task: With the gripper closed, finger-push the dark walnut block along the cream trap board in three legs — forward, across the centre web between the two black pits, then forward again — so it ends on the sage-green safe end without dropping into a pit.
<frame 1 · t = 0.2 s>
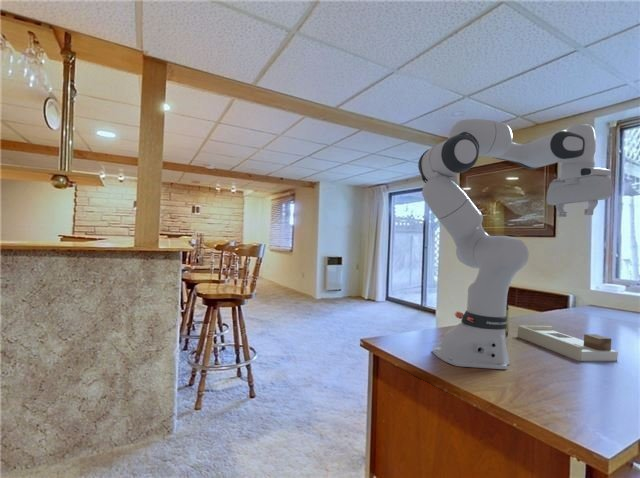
hand: (574, 216, 108), 47 cm above the table, fingers open, 8 cm apart
trap board: (562, 347, 119), on the table
sauce bottle: (499, 334, 133), on the table
walnut block: (596, 348, 110), point 3 cm above the table, touching trap board
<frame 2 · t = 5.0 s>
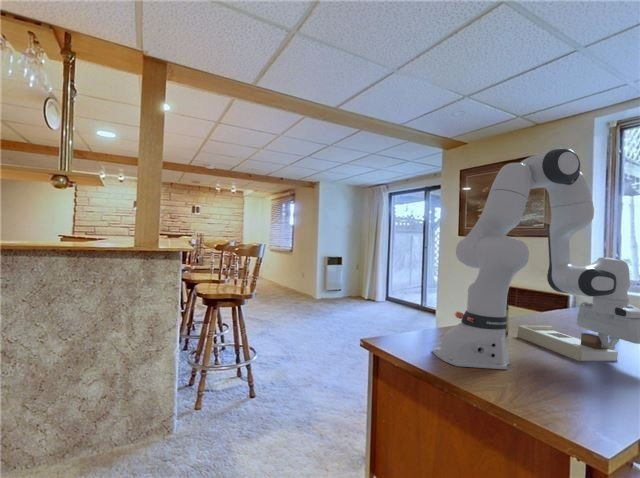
hand: (607, 348, 107), 4 cm above the table, fingers closed
walnut block: (593, 346, 112), point 3 cm above the table, touching gripper
everything else where it was.
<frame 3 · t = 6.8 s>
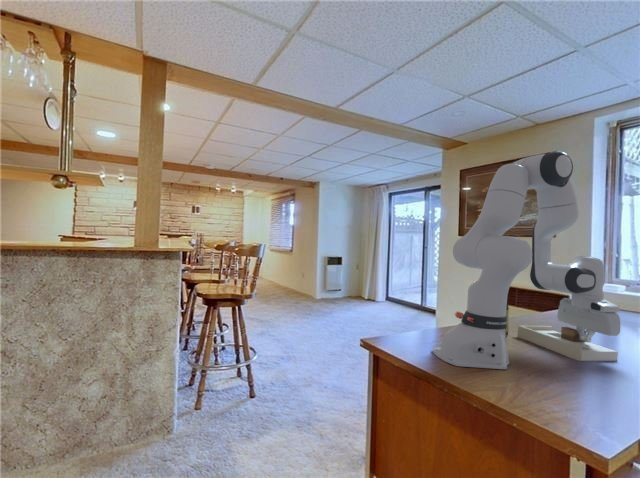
hand: (585, 341, 115), 4 cm above the table, fingers closed
walnut block: (573, 339, 119), point 3 cm above the table, touching gripper, trap board
everything else where it was.
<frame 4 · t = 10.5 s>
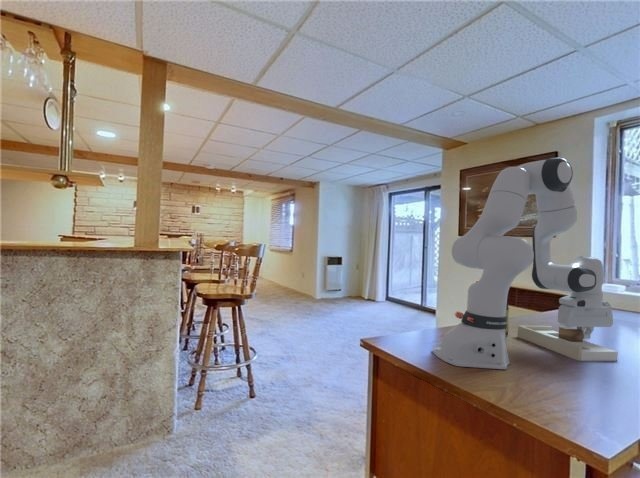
hand: (584, 338, 119), 4 cm above the table, fingers closed
walnut block: (570, 339, 119), point 3 cm above the table, touching gripper
everything else where it was.
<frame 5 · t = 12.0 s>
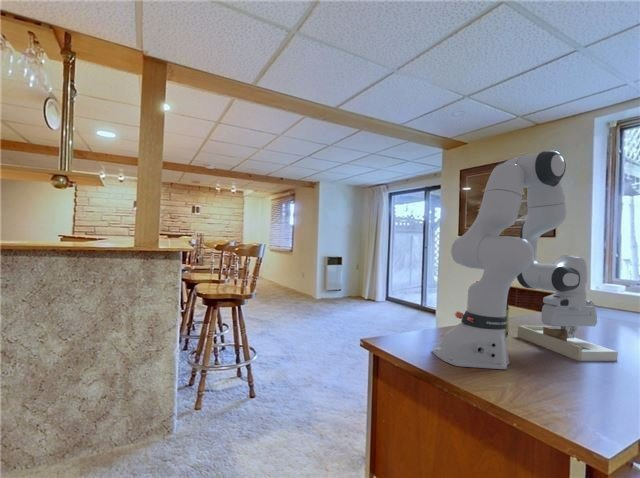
hand: (568, 338, 118), 4 cm above the table, fingers closed
walnut block: (554, 339, 118), point 3 cm above the table, touching gripper, trap board
everything else where it was.
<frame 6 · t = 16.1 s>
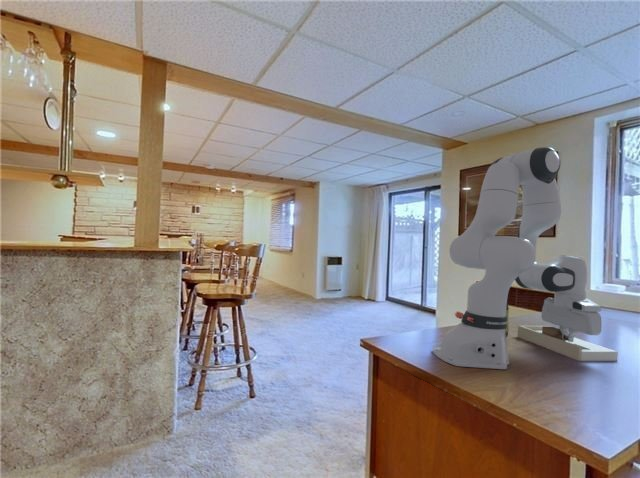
hand: (567, 340, 114), 4 cm above the table, fingers closed
walnut block: (553, 339, 119), point 3 cm above the table, touching gripper
everything else where it was.
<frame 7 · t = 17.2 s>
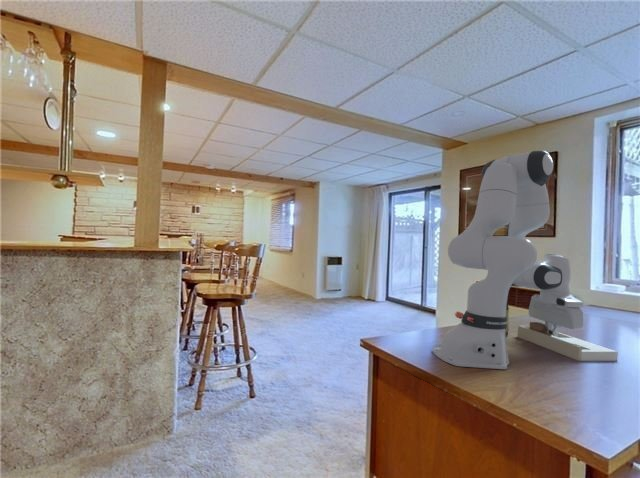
hand: (552, 335, 121), 4 cm above the table, fingers closed
walnut block: (540, 334, 125), point 3 cm above the table, touching gripper
everything else where it was.
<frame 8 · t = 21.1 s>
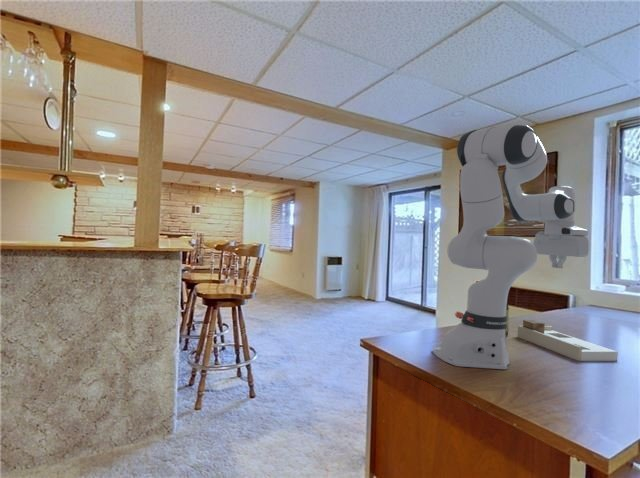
hand: (557, 268, 120), 29 cm above the table, fingers closed
walnut block: (533, 331, 128), point 3 cm above the table, touching trap board
everything else where it was.
at the end: walnut block 1.4 cm from the target spot on the trap board, point 3.0 cm above the trap board's base; walnut block tilted 0° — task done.
